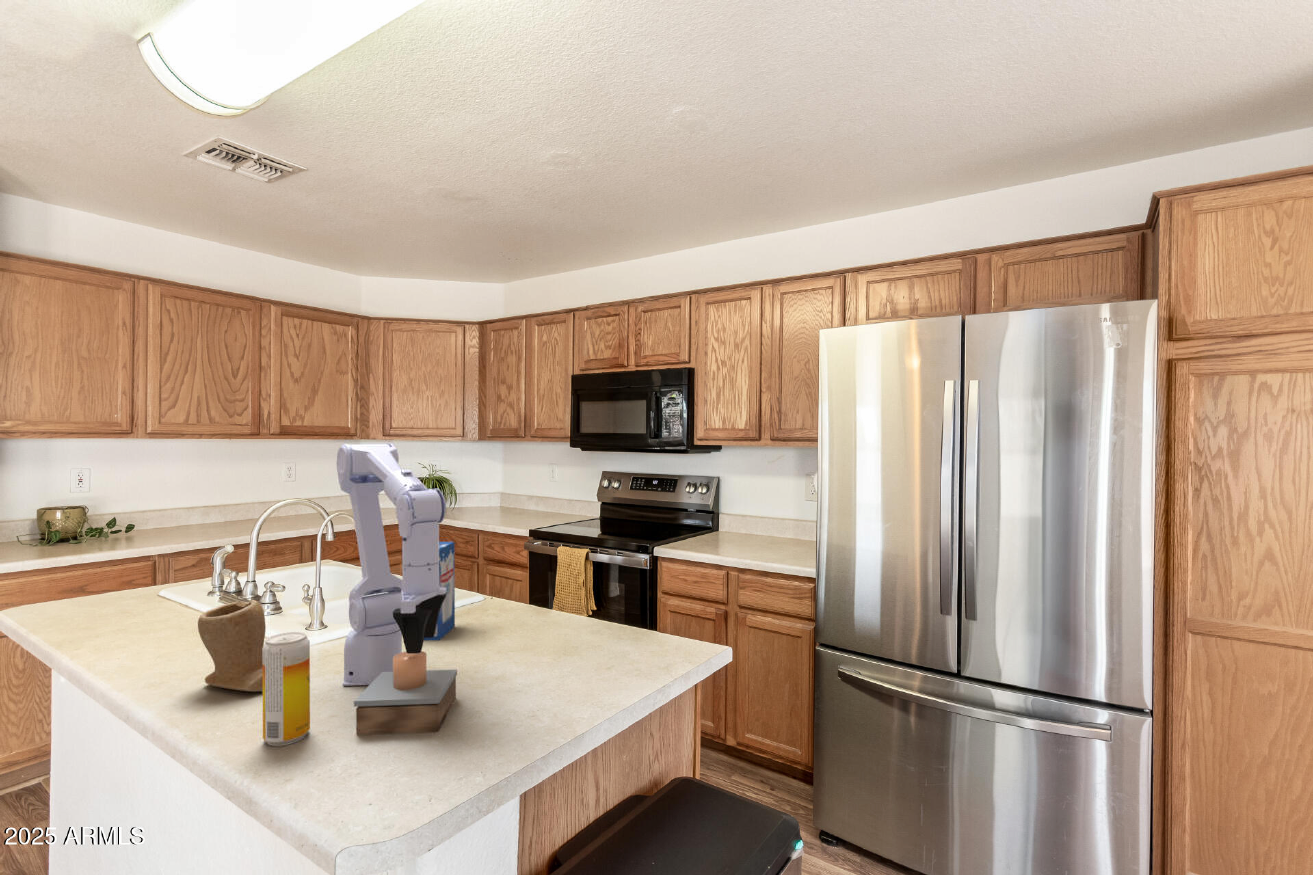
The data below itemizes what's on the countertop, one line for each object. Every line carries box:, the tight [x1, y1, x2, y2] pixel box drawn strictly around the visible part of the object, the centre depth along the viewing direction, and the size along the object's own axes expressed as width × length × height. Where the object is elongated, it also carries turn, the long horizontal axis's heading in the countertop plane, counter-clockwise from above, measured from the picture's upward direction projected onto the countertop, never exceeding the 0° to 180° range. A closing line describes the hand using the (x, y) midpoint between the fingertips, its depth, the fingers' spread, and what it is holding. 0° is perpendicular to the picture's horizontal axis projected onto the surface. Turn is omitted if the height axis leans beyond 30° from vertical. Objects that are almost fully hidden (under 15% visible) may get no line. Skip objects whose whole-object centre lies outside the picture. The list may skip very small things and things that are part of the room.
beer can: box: [262, 631, 311, 747], centre depth 95 cm, size 6×6×15 cm
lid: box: [353, 668, 458, 708], centre depth 102 cm, size 12×12×1 cm
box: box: [355, 676, 457, 736], centre depth 102 cm, size 12×12×4 cm
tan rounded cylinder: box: [393, 650, 427, 690], centre depth 102 cm, size 5×5×4 cm
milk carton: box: [423, 541, 456, 641], centre depth 144 cm, size 10×6×20 cm, turn 179°
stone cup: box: [197, 599, 267, 692], centre depth 114 cm, size 15×12×15 cm
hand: (420, 644), depth 105 cm, fingers open, 7 cm apart
